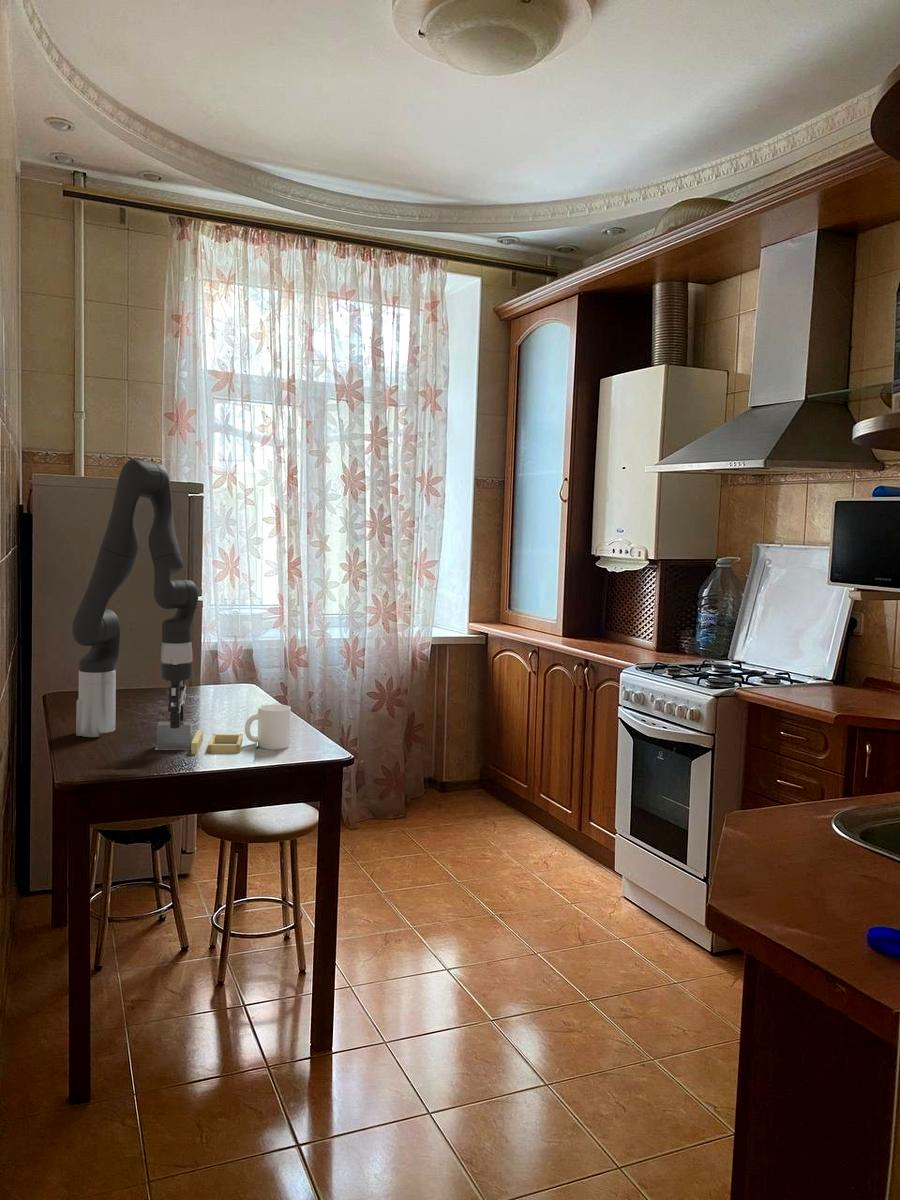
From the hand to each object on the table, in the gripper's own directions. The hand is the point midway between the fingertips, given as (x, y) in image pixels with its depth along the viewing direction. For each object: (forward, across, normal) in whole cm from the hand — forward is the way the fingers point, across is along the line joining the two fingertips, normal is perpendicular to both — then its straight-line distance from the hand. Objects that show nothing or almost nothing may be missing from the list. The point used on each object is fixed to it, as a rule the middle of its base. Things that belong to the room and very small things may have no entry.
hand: (177, 724), depth 233 cm
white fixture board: (+7, 0, +6) cm, 9 cm away
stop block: (+6, 0, -1) cm, 6 cm away
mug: (+7, -4, +22) cm, 24 cm away
